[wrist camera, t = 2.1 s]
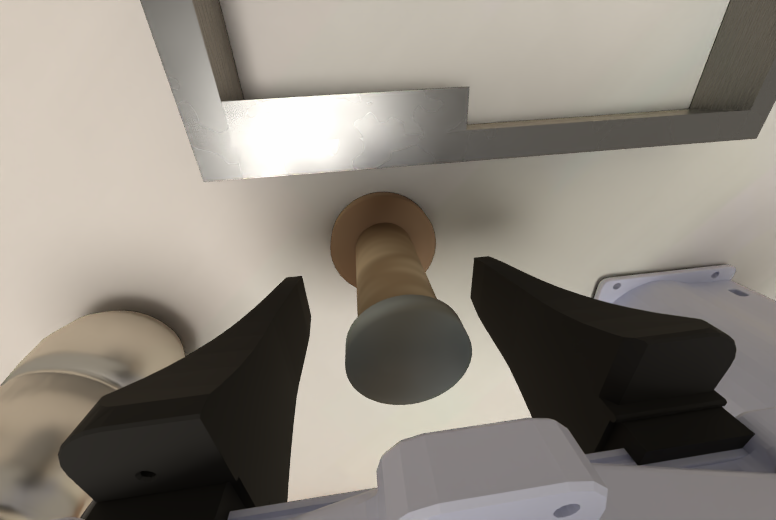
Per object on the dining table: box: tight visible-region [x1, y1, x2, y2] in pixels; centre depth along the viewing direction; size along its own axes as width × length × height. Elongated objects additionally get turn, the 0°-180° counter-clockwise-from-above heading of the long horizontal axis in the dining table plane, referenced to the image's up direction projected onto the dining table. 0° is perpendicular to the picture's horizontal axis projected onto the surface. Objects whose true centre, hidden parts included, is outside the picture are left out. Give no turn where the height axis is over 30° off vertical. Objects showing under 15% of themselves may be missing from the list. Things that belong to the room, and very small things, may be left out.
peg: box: [330, 192, 472, 405], centre depth 13 cm, size 6×6×9 cm
